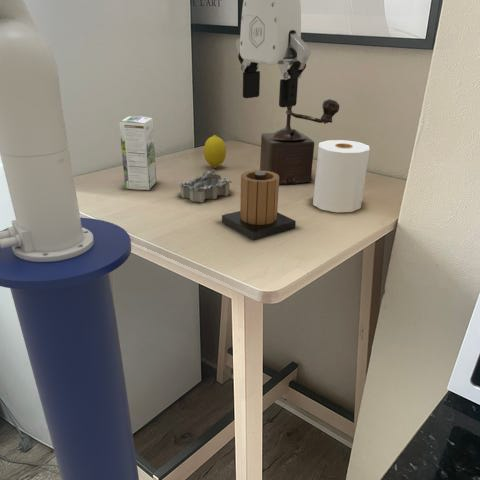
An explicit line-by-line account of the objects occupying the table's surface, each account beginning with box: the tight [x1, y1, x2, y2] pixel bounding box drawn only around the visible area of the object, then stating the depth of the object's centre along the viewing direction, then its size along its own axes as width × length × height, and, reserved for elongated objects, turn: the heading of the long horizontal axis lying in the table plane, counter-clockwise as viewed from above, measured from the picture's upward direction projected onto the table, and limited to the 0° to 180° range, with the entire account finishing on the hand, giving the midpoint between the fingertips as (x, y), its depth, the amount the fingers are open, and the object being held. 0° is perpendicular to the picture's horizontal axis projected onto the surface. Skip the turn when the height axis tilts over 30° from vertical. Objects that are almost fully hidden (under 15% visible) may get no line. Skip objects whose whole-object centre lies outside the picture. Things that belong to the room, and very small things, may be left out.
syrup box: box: [119, 115, 157, 191], centre depth 109 cm, size 6×6×14 cm
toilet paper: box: [312, 139, 371, 214], centre depth 102 cm, size 10×10×12 cm
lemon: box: [203, 134, 227, 169], centre depth 124 cm, size 6×6×8 cm
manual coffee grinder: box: [259, 98, 340, 185], centre depth 116 cm, size 16×11×18 cm
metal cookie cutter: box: [178, 168, 233, 203], centre depth 108 cm, size 11×8×4 cm
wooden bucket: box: [239, 169, 280, 225], centre depth 92 cm, size 7×7×8 cm
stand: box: [221, 172, 297, 241], centre depth 92 cm, size 10×10×10 cm
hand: (268, 101), depth 83 cm, fingers open, 9 cm apart
